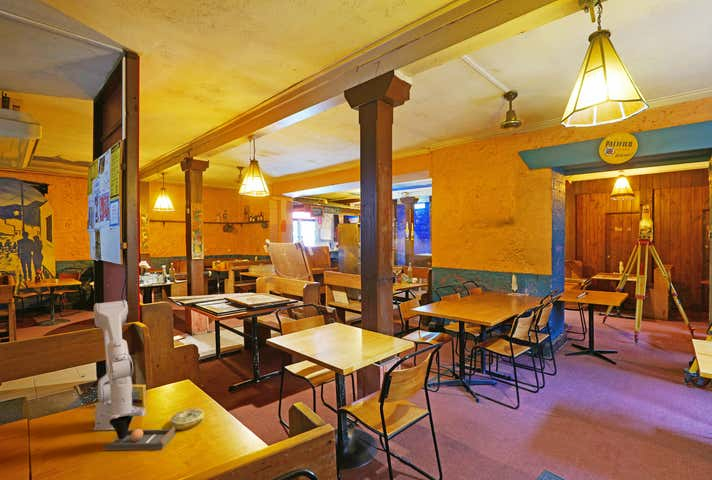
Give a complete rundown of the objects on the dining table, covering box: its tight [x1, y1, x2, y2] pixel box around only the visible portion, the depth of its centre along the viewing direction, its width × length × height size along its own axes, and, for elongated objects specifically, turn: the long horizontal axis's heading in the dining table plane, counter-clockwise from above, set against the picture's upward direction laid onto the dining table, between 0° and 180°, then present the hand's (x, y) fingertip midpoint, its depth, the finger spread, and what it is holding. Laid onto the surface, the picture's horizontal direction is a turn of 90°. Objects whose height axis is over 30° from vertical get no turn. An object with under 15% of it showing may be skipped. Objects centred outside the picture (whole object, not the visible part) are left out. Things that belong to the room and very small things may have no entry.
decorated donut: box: [169, 407, 205, 431], centre depth 125 cm, size 10×11×4 cm
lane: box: [104, 426, 176, 451], centre depth 114 cm, size 18×8×3 cm, turn 90°
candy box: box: [132, 384, 148, 407], centre depth 139 cm, size 16×2×8 cm, turn 87°
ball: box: [130, 428, 143, 441], centre depth 114 cm, size 4×4×4 cm
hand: (122, 437), depth 114 cm, fingers closed
